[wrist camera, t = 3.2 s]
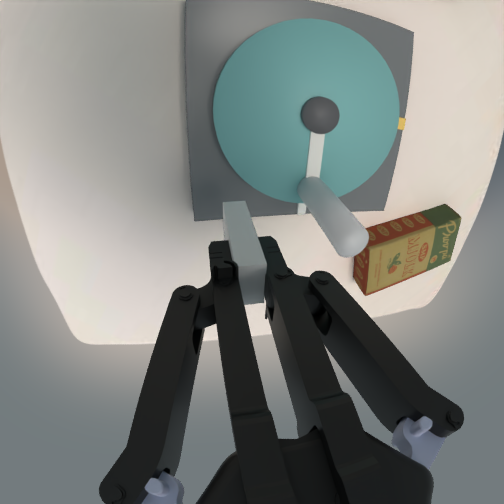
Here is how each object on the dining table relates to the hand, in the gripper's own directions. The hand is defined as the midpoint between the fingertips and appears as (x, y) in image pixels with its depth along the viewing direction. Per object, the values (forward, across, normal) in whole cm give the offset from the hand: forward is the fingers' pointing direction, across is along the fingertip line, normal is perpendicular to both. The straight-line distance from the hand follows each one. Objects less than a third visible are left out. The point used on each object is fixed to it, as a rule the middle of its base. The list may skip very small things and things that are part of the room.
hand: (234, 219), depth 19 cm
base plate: (+8, +7, +7) cm, 12 cm away
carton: (+8, +24, -9) cm, 27 cm away
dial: (+6, +7, +7) cm, 11 cm away
